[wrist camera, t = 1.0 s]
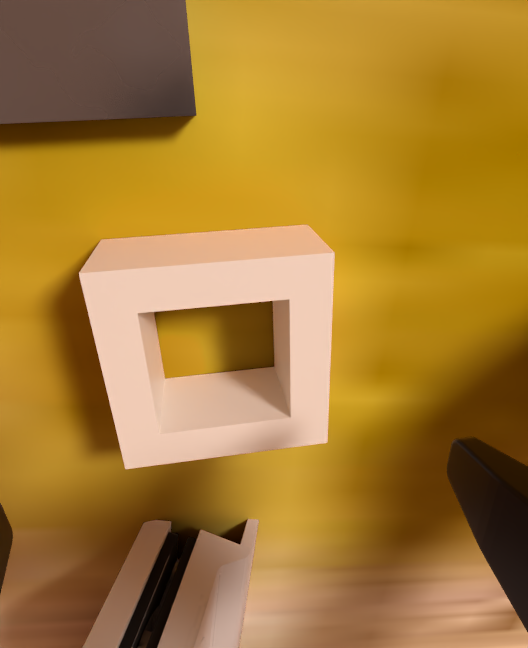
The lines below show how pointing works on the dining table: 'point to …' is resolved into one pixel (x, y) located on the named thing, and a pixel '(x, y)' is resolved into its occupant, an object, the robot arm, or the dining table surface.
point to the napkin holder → (177, 592)
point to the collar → (217, 388)
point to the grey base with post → (94, 60)
